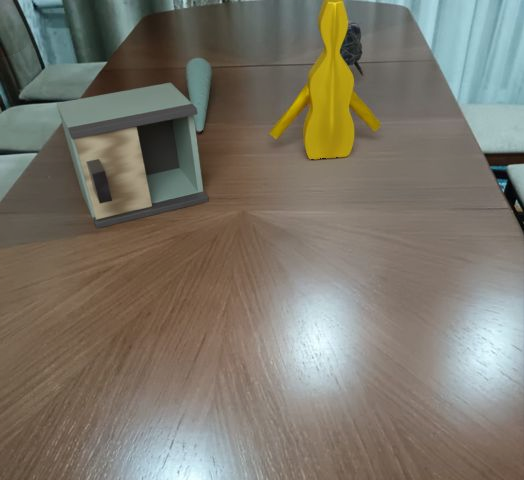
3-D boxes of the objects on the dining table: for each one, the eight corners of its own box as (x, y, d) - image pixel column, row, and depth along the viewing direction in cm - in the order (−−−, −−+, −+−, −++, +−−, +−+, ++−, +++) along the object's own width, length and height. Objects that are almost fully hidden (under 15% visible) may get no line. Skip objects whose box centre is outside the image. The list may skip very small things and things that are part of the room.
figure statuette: (376, 140, 94) (389, -16, 80) (387, 160, 89) (404, -5, 74) (268, 149, 94) (262, -6, 79) (273, 169, 88) (267, 6, 73)
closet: (96, 228, 77) (70, 132, 69) (81, 192, 86) (56, 103, 77) (208, 201, 81) (196, 108, 73) (183, 169, 90) (170, 82, 81)
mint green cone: (180, 104, 96) (183, 58, 116) (184, 136, 100) (187, 87, 120) (212, 101, 97) (210, 56, 116) (215, 133, 100) (213, 85, 120)
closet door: (101, 233, 74) (79, 150, 67) (95, 217, 78) (73, 136, 70) (159, 219, 76) (144, 137, 69) (150, 204, 80) (135, 124, 72)
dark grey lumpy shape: (363, 96, 111) (371, -27, 97) (305, 96, 112) (305, -24, 99) (363, 82, 117) (370, -35, 103) (307, 83, 118) (307, -32, 105)
